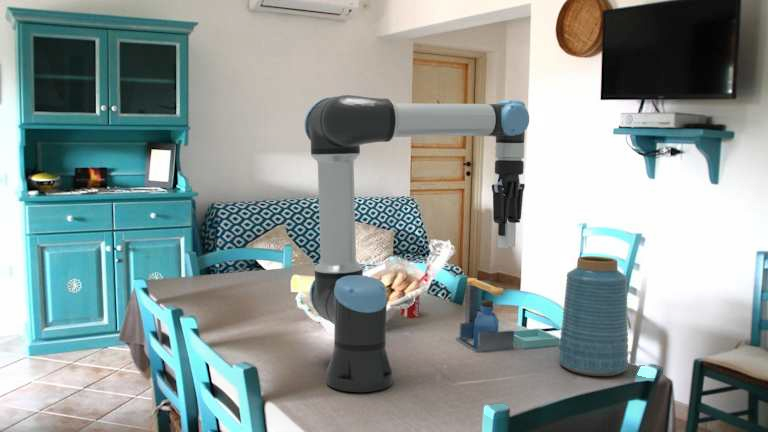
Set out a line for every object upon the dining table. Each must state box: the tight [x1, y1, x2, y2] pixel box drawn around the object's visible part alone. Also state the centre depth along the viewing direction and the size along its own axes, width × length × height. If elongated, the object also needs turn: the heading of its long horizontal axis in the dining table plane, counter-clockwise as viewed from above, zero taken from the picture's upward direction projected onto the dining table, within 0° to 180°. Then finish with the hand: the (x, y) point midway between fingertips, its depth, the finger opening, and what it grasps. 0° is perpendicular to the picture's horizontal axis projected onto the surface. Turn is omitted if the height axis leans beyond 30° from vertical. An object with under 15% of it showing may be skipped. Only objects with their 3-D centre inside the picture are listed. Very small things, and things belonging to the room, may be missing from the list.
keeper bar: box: [466, 277, 504, 296], centre depth 189 cm, size 17×3×2 cm, turn 19°
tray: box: [512, 328, 561, 350], centre depth 191 cm, size 11×11×2 cm
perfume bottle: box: [472, 299, 499, 348], centre depth 188 cm, size 6×6×12 cm
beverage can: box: [400, 295, 421, 319], centre depth 216 cm, size 6×6×12 cm
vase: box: [557, 255, 629, 377], centre depth 169 cm, size 16×16×27 cm
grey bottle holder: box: [455, 284, 514, 353], centre depth 190 cm, size 16×11×15 cm
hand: (506, 247), depth 188 cm, fingers open, 3 cm apart
